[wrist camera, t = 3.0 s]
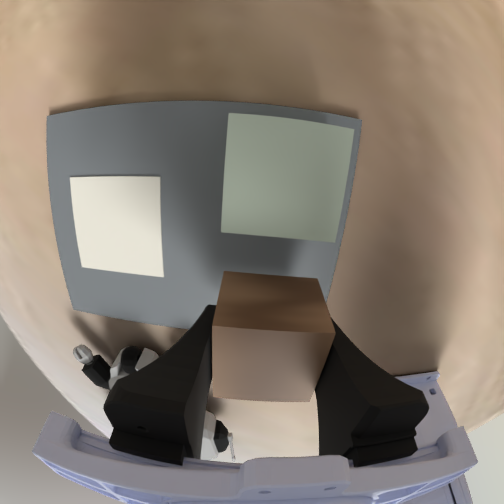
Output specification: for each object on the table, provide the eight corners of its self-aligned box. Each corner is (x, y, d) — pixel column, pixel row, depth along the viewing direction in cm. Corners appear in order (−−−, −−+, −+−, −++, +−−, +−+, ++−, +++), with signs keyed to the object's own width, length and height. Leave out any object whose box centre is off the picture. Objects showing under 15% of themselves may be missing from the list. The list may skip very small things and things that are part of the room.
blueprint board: (359, 119, 13) (362, 119, 12) (314, 334, 19) (316, 339, 18) (50, 115, 12) (45, 116, 12) (75, 306, 18) (72, 310, 18)
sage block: (328, 127, 13) (354, 129, 9) (316, 212, 15) (334, 242, 11) (236, 116, 12) (228, 112, 9) (230, 203, 14) (220, 232, 11)
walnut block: (317, 278, 13) (335, 333, 10) (300, 345, 15) (309, 401, 12) (223, 270, 13) (212, 325, 10) (221, 340, 15) (212, 397, 12)
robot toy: (81, 323, 20) (133, 425, 26) (55, 355, 16) (123, 455, 22) (217, 327, 20) (238, 435, 25) (208, 371, 16) (236, 469, 21)
